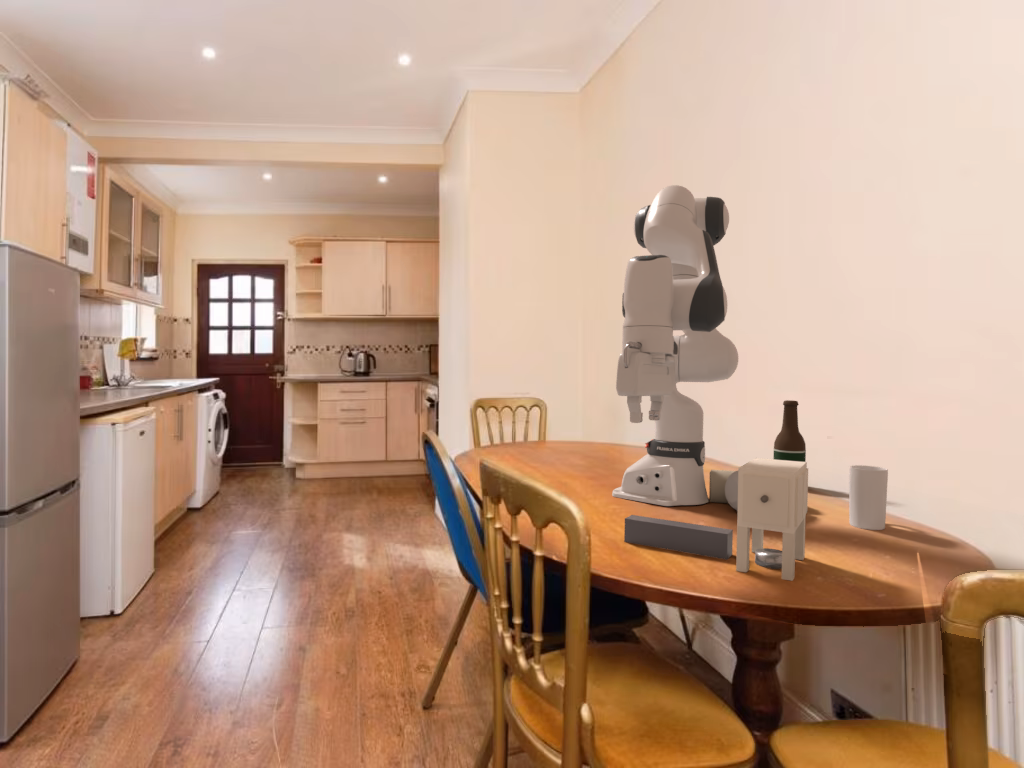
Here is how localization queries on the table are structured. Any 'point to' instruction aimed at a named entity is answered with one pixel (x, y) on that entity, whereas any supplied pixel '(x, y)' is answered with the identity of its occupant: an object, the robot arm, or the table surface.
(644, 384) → the robot arm
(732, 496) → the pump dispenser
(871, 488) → the mug
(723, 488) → the travel mug
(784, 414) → the beer bottle
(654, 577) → the table surface
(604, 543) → the table surface
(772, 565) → the steel disc
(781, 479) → the cabinet
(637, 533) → the charcoal bar
